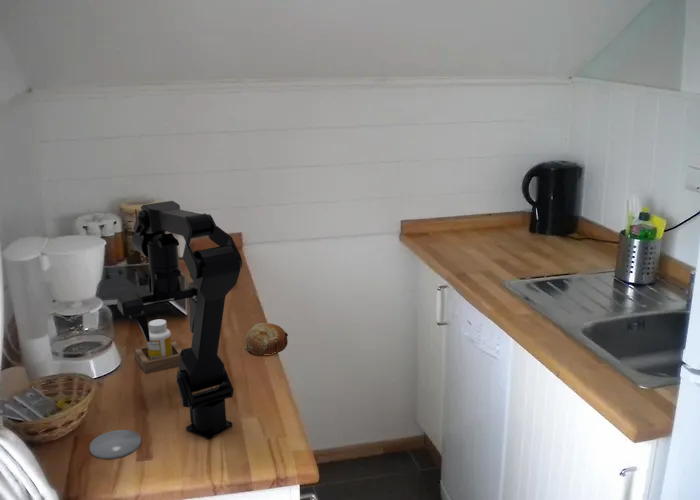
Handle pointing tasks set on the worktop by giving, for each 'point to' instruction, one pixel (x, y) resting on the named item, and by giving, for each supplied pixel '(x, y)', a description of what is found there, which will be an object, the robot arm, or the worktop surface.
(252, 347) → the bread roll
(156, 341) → the supplement bottle
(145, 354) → the rectangular wooden frame
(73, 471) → the worktop surface
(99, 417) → the worktop surface
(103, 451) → the slate coaster
